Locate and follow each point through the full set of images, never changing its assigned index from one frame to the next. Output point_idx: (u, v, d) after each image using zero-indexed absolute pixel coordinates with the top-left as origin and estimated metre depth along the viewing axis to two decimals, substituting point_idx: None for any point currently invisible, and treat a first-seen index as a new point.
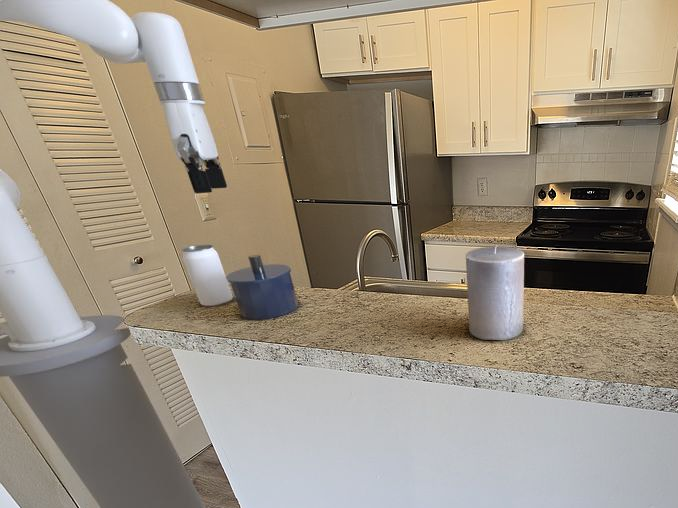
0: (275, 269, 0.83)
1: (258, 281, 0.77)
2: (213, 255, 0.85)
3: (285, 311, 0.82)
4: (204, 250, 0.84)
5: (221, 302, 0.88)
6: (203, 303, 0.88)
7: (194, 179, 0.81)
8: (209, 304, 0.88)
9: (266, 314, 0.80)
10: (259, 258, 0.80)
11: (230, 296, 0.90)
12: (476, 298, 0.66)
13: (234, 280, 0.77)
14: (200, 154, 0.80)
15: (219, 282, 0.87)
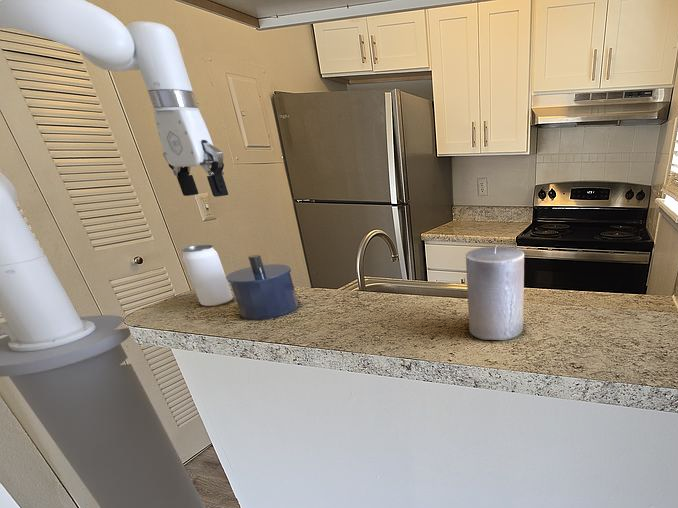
0: (275, 269, 0.83)
1: (258, 281, 0.77)
2: (213, 255, 0.85)
3: (285, 311, 0.82)
4: (204, 250, 0.84)
5: (221, 302, 0.88)
6: (203, 303, 0.88)
7: (217, 183, 0.84)
8: (209, 304, 0.88)
9: (266, 314, 0.80)
10: (259, 258, 0.80)
11: (230, 296, 0.90)
12: (476, 298, 0.66)
13: (234, 280, 0.77)
14: None
15: (219, 282, 0.87)
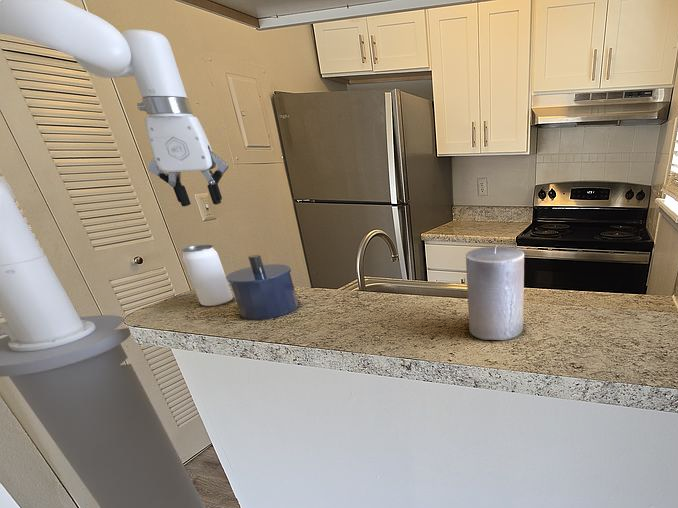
0: (275, 269, 0.83)
1: (258, 281, 0.77)
2: (213, 255, 0.85)
3: (285, 311, 0.82)
4: (204, 250, 0.84)
5: (221, 302, 0.88)
6: (203, 303, 0.88)
7: (217, 191, 0.89)
8: (209, 304, 0.88)
9: (266, 314, 0.80)
10: (259, 258, 0.80)
11: (230, 296, 0.90)
12: (476, 298, 0.66)
13: (234, 280, 0.77)
14: None
15: (219, 282, 0.87)
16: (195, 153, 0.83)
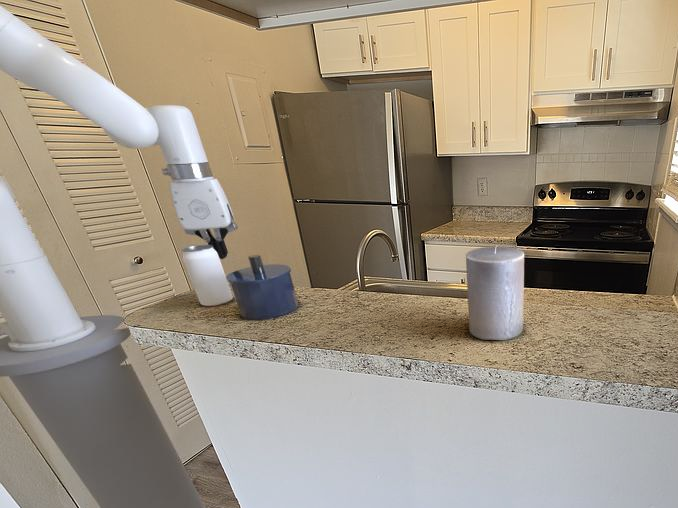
0: (275, 269, 0.83)
1: (258, 281, 0.77)
2: (213, 255, 0.85)
3: (285, 311, 0.82)
4: (204, 250, 0.84)
5: (221, 302, 0.88)
6: (203, 303, 0.88)
7: (223, 246, 0.94)
8: (209, 304, 0.88)
9: (266, 314, 0.80)
10: (259, 258, 0.80)
11: (230, 296, 0.90)
12: (476, 298, 0.66)
13: (234, 280, 0.77)
14: None
15: (219, 282, 0.87)
16: (215, 212, 0.89)
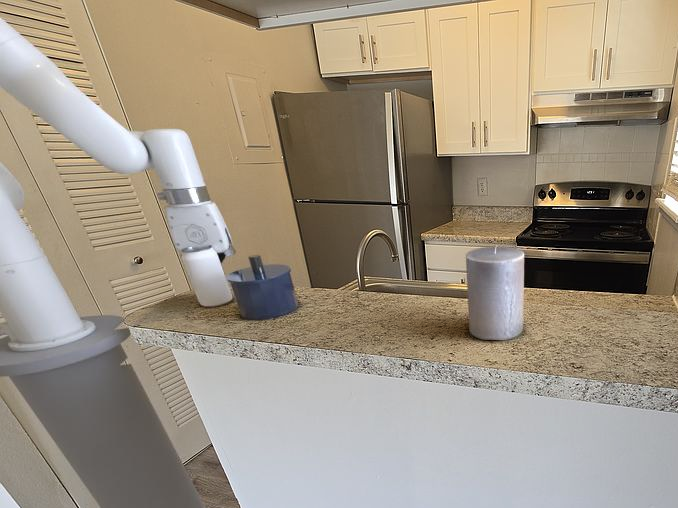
0: (275, 269, 0.83)
1: (258, 281, 0.77)
2: (212, 256, 0.84)
3: (285, 311, 0.82)
4: (203, 251, 0.83)
5: (220, 303, 0.88)
6: (202, 304, 0.87)
7: None
8: (208, 305, 0.87)
9: (266, 314, 0.80)
10: (259, 258, 0.80)
11: (230, 297, 0.90)
12: (476, 298, 0.66)
13: (234, 280, 0.77)
14: None
15: (218, 283, 0.86)
16: (213, 237, 0.86)
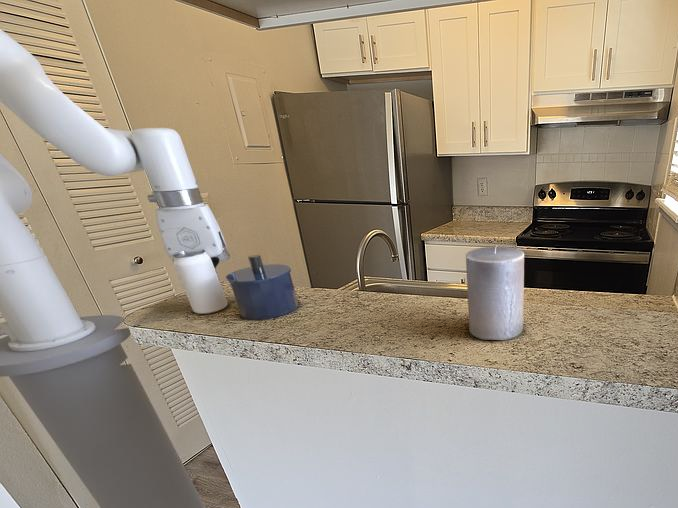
0: (275, 269, 0.83)
1: (258, 281, 0.77)
2: (206, 261, 0.81)
3: (285, 311, 0.82)
4: (196, 256, 0.79)
5: (215, 310, 0.84)
6: (196, 311, 0.84)
7: None
8: (202, 312, 0.84)
9: (266, 314, 0.80)
10: (259, 258, 0.80)
11: (224, 303, 0.86)
12: (476, 298, 0.66)
13: (234, 280, 0.77)
14: None
15: (212, 289, 0.83)
16: (206, 241, 0.82)
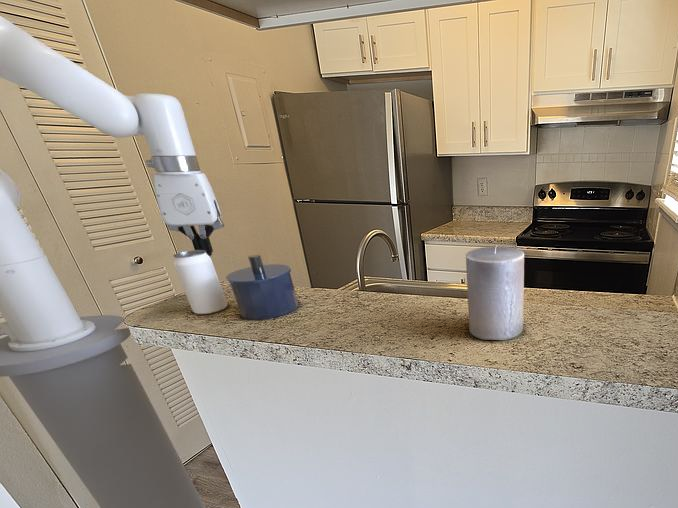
0: (275, 269, 0.83)
1: (258, 281, 0.77)
2: (206, 261, 0.81)
3: (285, 311, 0.82)
4: (196, 256, 0.79)
5: (214, 310, 0.84)
6: (196, 311, 0.83)
7: (208, 244, 0.89)
8: (202, 312, 0.83)
9: (266, 314, 0.80)
10: (259, 258, 0.80)
11: (224, 304, 0.86)
12: (476, 298, 0.66)
13: (234, 280, 0.77)
14: None
15: (212, 289, 0.83)
16: (201, 208, 0.84)
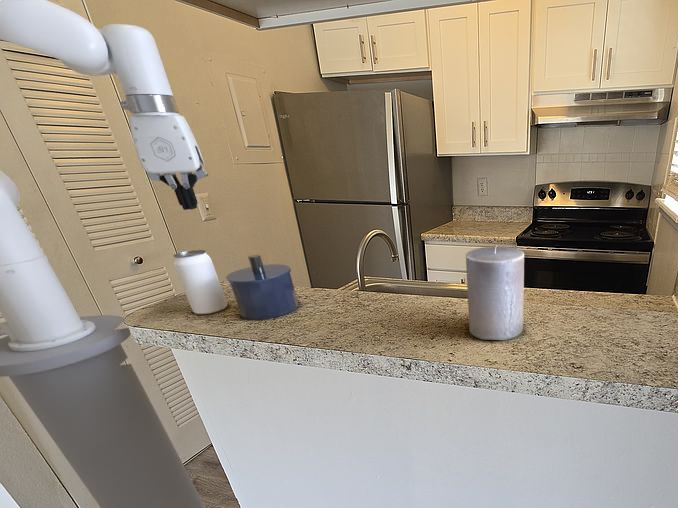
0: (275, 269, 0.83)
1: (258, 281, 0.77)
2: (206, 261, 0.81)
3: (285, 311, 0.82)
4: (196, 256, 0.79)
5: (214, 310, 0.84)
6: (196, 311, 0.83)
7: (192, 195, 0.85)
8: (202, 312, 0.83)
9: (266, 314, 0.80)
10: (259, 258, 0.80)
11: (224, 304, 0.86)
12: (476, 298, 0.66)
13: (234, 280, 0.77)
14: None
15: (212, 289, 0.83)
16: (182, 154, 0.80)
